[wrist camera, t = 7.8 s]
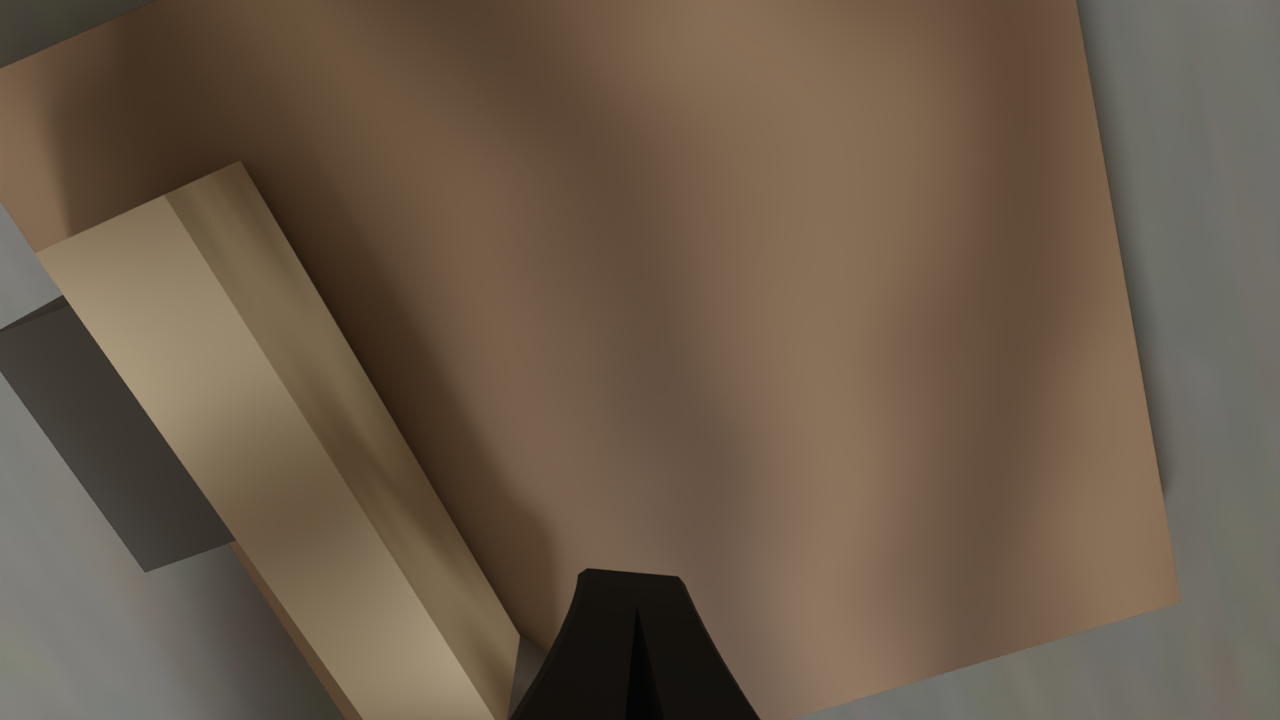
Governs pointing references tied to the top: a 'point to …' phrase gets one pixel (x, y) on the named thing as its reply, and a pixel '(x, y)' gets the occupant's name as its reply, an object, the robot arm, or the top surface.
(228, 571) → the top surface
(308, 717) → the top surface
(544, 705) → the robot arm
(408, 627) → the folding leg
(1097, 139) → the stool seat
